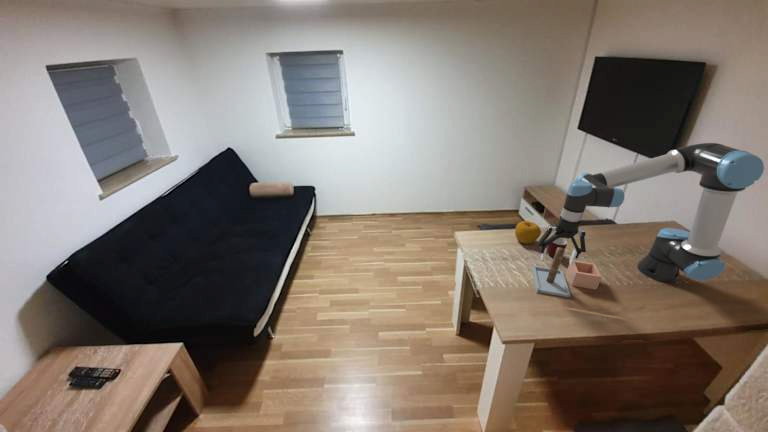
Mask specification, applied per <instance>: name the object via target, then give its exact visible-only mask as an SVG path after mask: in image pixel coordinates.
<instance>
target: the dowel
mask: <svg viewBox="0 0 768 432" xmlns="http://www.w3.org/2000/svg"><path fill="white" fill-rule="evenodd" d="M565 250H566V248H565V249H563V248H561V247H558V248H557V250H556V253H555V256H554V258H552V259H553V260H552V263H551V265H550V267H549V268H550V271H549V274H548V277H547V280H546V281H547V282H548V283H551V284H552V283H554V280H555V277H556V274H557V271H558V269H559V268H560V265H561V264H562V263H561V262H562V259H563V257H564V254H565Z"/></svg>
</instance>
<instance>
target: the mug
mask: <svg viewBox="0 0 768 432" xmlns="http://www.w3.org/2000/svg"><path fill="white" fill-rule="evenodd" d="M567 245H568V241H567V240H566V238H561V237H560V238H559V239H556V240H555V241H554V242H552V243H551V244H550V245H548V246H547V255H548V256H549V257H550V258H552V259H554V256H555V253H556V250H557V248H558V247H561V248H563V249H565V250H566V248H567Z"/></svg>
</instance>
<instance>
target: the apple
mask: <svg viewBox="0 0 768 432" xmlns="http://www.w3.org/2000/svg"><path fill="white" fill-rule="evenodd" d="M514 231H515V232H514V233H515V237H516V239H517V241H518V242H519V243H521V244H524V245H531V244H533V243H535V241H537V240H538V239H540V236H541V235H542V229H541V227H539V226H538V225H537V224H536V223H535V222H532V221H528V220H523V221H520V222H519V223H517V224H516V226H515V230H514Z"/></svg>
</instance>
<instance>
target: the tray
mask: <svg viewBox="0 0 768 432" xmlns="http://www.w3.org/2000/svg"><path fill="white" fill-rule="evenodd" d="M550 268H551V267H545V266H539V265H532V267H531V273H532V276H533V282H534V287H535V291H536V294H538V295H539V293H540V294H546V295H551V296H557V297H558V296H559V297H564V298H571V296H572V294H571V292H570V289H569V286H568V283H567V280H566V277H565V274H564V271H563V270H562V269H559V268H558V271H557V274H556V277H555V280H554V283H552V284H551V283H548V282H547V281H546V280H547V277H548V274H549V271H550Z"/></svg>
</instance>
